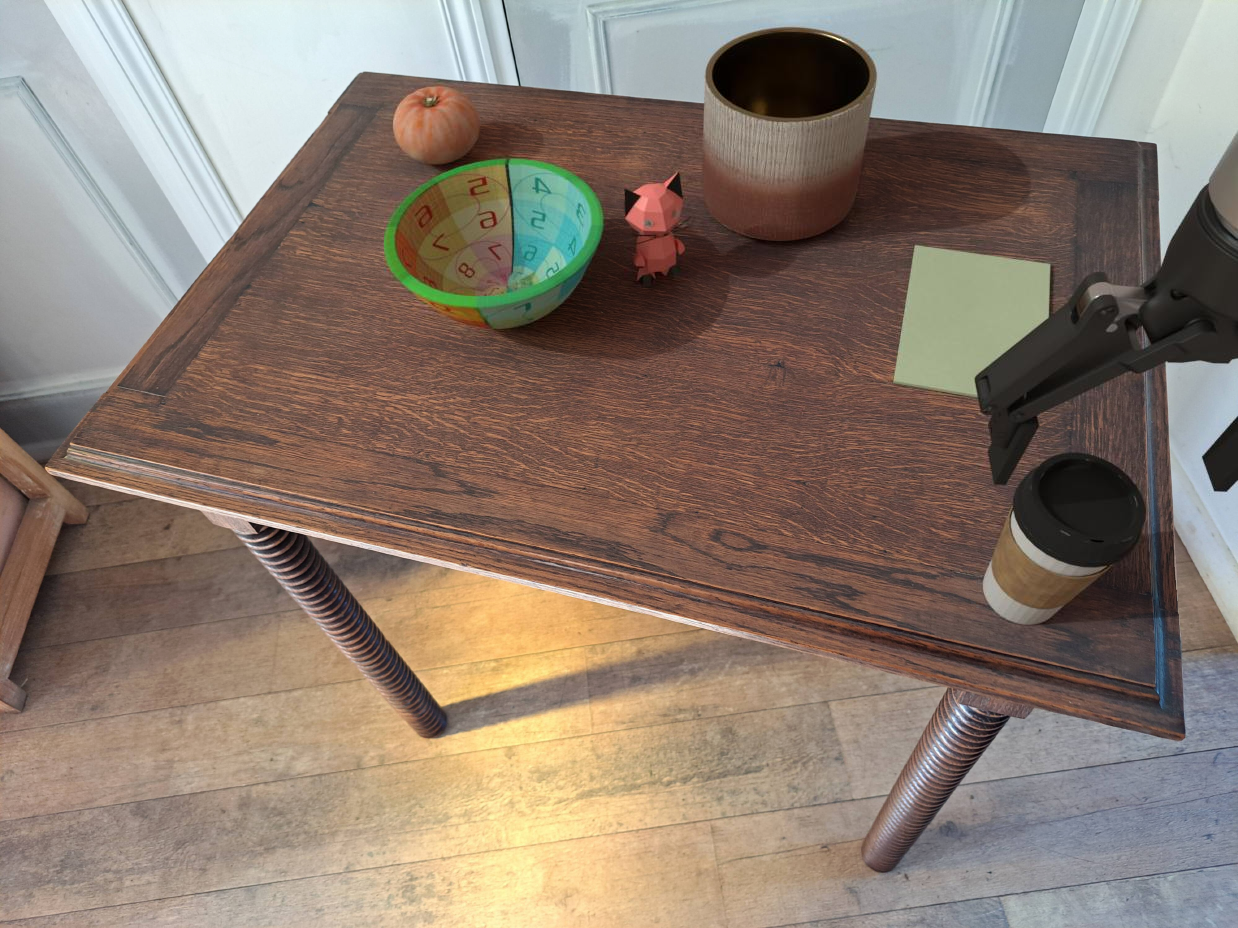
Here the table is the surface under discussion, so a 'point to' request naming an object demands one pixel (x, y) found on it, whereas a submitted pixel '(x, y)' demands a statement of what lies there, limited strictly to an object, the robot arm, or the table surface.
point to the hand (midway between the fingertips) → (1103, 471)
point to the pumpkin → (436, 125)
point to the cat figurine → (656, 227)
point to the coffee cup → (1062, 535)
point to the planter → (785, 131)
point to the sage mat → (966, 315)
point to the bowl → (495, 241)
